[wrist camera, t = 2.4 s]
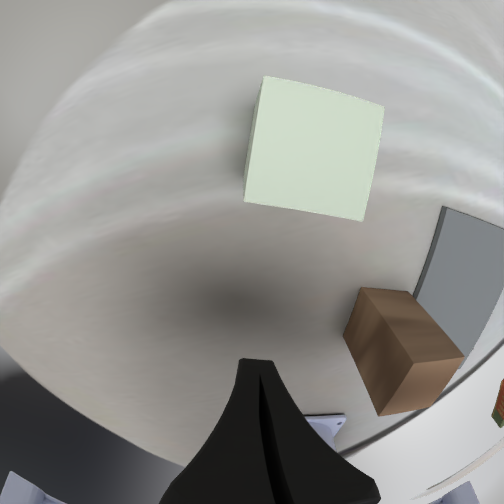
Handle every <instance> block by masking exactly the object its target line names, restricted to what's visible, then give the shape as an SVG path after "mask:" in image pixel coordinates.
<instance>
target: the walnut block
mask: <svg viewBox="0 0 504 504" xmlns="http://www.w3.org/2000/svg"><path fill="white" fill-rule="evenodd" d="M343 337H344V340H345V342H346V344H347V346H348V348H349V350H350V353H351V355H352V357H353V359H354V361H355V364H356V366H357V368H358V370H359V373H360V375H361V377H362V380H363V382H364V384H365V386H366V389H367V391H368V393H369V396H370V398H371V400H372V403H373V405H374V408H375V410H376V412H377V415H378V416H385V415H391V414H397V413H402V412H408V411H413V410H417V409H422V408H426V407H430V406H431V405H432V404H433V402H434V401H435V400H436V399H437V397H438V396H439V395H440V393H441V392H442V391H443V389H444V388H445V386H446V385H447V384H448V382H449V381H450V379H451V378H452V376H453V375H454V373H455V372H456V370H457V369H458V367H459V366H460V364H461V363H462V361H463V360H464V358H465V356H464V355H463V353H462V352H461V351H460V350H459V349H458V347H457V346H456V345H455V344H454V343H453V341H452V340H451V339H450V338H449V337H448V335H447V334H446V333H445V332H444V331H443V330H442V328H441V327H440V326H439V325H438V324H437V323H436V322H435V321H434V319H433V318H432V317H431V316H430V315H429V314H428V313H427V312H426V310H425V309H424V308H423V307H422V306H421V305H420V304H419V303H418V302H417V301H416V300H415V299H414V297H413V296H412V295H411V294H410V293H409V292H408V291H398V290H387V289H376V288H366V287H361V289H360V292H359V294H358V297H357V300H356V303H355V306H354V308H353V311H352V314H351V316H350V319H349V322H348V324H347V327H346V329H345V332H344V334H343Z"/></svg>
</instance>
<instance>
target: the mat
mask: <svg viewBox="0 0 504 504" xmlns="http://www.w3.org/2000/svg"><path fill="white" fill-rule="evenodd" d="M503 287H504V229H502V228H500V227H497V226H495V225H492V224H490V223H487V222H485V221H482V220H480V219H477V218H474V217H472V216H469V215H466V214H464V213H461V212H458V211H455V210H452V209H449V208H446V207H442V211H441V214H440V218H439V222H438V225H437V229H436V232H435V235H434V239H433V242H432V245H431V248H430V251H429V254H428V257H427V260H426V263H425V266H424V269H423V271H422V274H421V277H420V279H419V282H418V285H417V287H416V290H415V292H414V295H413V297H414V299H415V300H416V301H417V302H418V303H419V304H420V305H421V306H422V307H423V308H424V309H425V310H426V312H427V313H428V314H429V315H430V316H431V317H432V318H433V319H434V321H435V322H436V323H437V324H438V325H439V326H440V327H441V328H442V330H443V331H444V332H445V333H446V334H447V335H448V337H449V338H450V339H451V340H452V341H453V343H454V344H455V345H456V346H457V347H458V349H459V350H460V351H461V352H462V353H463V355H464V356H465V358H464V360H463V361H462V363H461V364H460V366H459V367H458V369H460V368H461V367H462V365H463V364H464V362H465V361H466V359H467V357H468V356H469V354H470V352H471V351H472V349H473V347H474V346H475V344H476V342H477V340H478V339H479V337H480V335H481V333H482V331H483V330H484V328H485V326H486V324H487V322H488V320H489V318H490V316H491V314H492V312H493V310H494V308H495V306H496V303H497V301H498V299H499V297H500V294H501V292H502V290H503Z"/></svg>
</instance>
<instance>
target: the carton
mask: <svg viewBox="0 0 504 504" xmlns="http://www.w3.org/2000/svg"><path fill="white" fill-rule="evenodd" d="M492 418H493V419H494V420H495V422H496V423H497V424H498V426H499V427H500V428H501V427H502V426H504V379H503V380H502V381H501V385H500V390H499V393H498V397H497V400H496V404H495V407H494V410H493V413H492Z"/></svg>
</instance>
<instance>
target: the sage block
mask: <svg viewBox="0 0 504 504" xmlns="http://www.w3.org/2000/svg"><path fill="white" fill-rule="evenodd" d="M384 109H385V107H383V106H380V105H378V104H375V103H372V102H369V101H366V100H363V99H360V98H357V97H354V96H350V95H347V94H344V93H340V92H337V91H333V90H329V89H326V88H322V87H318V86H314V85H310V84H305V83H301V82H296V81H291V80H286V79H281V78H276V77H270V76H264V77H263V80H262V83H261V86H260V90H259V93H258V96H257V100H256V103H255V108H254V114H253V120H252V126H251V132H250V139H249V145H248V151H247V158H246V164H245V171H244V177H243V187H244V202H249V203H256V204H263V205H269V206H276V207H283V208H289V209H295V210H301V211H307V212H313V213H319V214H324V215H330V216H336V217H341V218H346V219H352V220H357V221H362V222H363V218H364V214H365V210H366V206H367V202H368V197H369V193H370V189H371V184H372V179H373V174H374V169H375V164H376V159H377V154H378V148H379V142H380V136H381V130H382V123H383V117H384Z"/></svg>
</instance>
